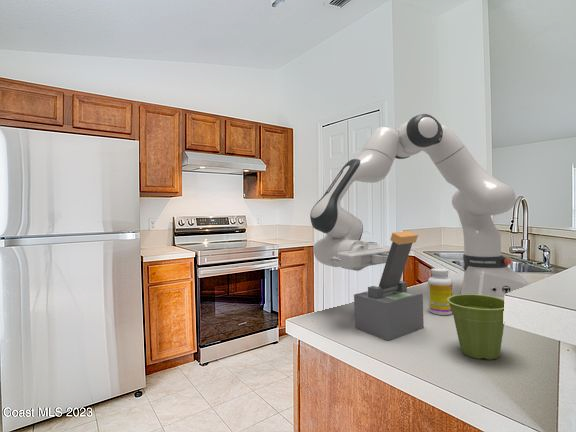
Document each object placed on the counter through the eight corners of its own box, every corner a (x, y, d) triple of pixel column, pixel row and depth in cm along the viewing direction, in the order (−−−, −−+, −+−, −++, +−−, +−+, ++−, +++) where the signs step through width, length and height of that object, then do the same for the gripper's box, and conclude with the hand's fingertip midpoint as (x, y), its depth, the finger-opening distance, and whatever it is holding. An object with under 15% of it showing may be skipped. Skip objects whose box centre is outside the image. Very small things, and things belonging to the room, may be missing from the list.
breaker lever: (374, 291, 86) (392, 232, 80) (391, 286, 89) (409, 230, 84) (381, 296, 84) (400, 237, 78) (398, 292, 87) (418, 235, 82)
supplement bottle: (456, 316, 94) (454, 271, 93) (431, 315, 95) (430, 271, 95) (449, 309, 100) (448, 267, 100) (426, 308, 102) (425, 267, 101)
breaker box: (355, 328, 87) (353, 285, 87) (389, 317, 95) (388, 277, 95) (388, 340, 78) (386, 292, 78) (423, 327, 86) (422, 283, 85)
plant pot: (455, 338, 78) (453, 291, 78) (515, 350, 71) (513, 298, 70) (441, 356, 69) (440, 303, 69) (509, 372, 62) (507, 312, 61)
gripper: (326, 247, 90) (363, 251, 79) (377, 241, 101) (416, 244, 90) (327, 270, 90) (364, 277, 79) (377, 262, 102) (417, 267, 90)
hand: (392, 259), depth 84 cm, fingers closed, pressing on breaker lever
